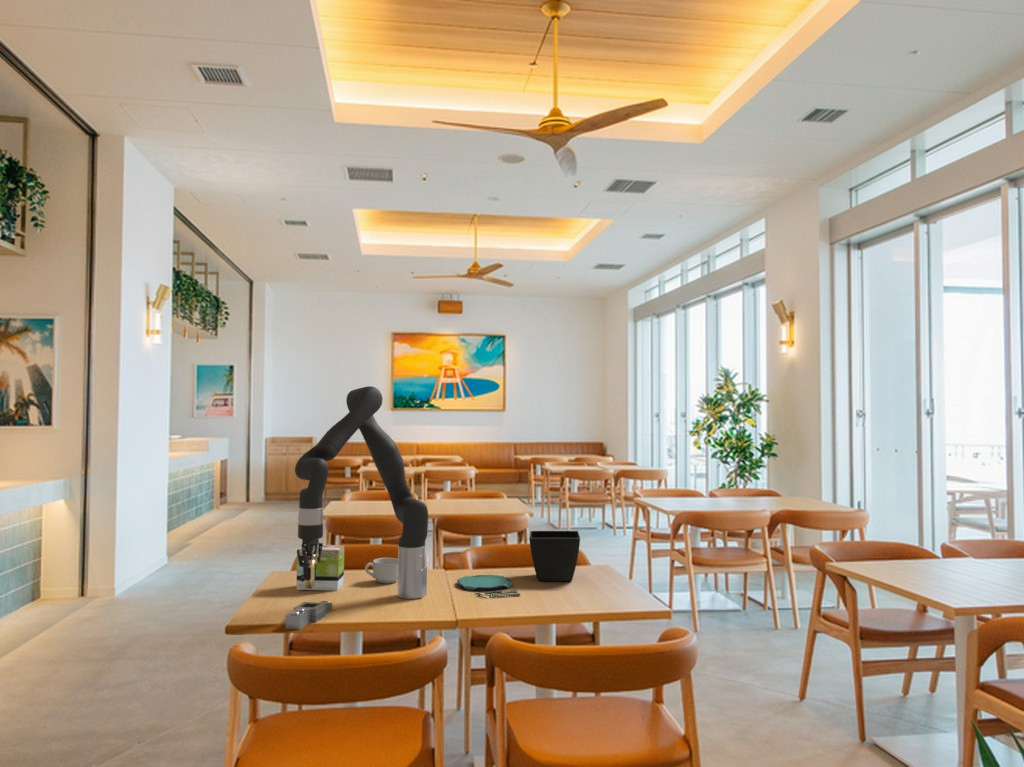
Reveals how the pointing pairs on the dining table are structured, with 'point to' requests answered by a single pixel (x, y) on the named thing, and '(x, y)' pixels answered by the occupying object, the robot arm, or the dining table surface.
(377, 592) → the dining table surface
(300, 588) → the tea box
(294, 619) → the grey studded bar
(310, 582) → the pin
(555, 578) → the flower pot
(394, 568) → the teacup
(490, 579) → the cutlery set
